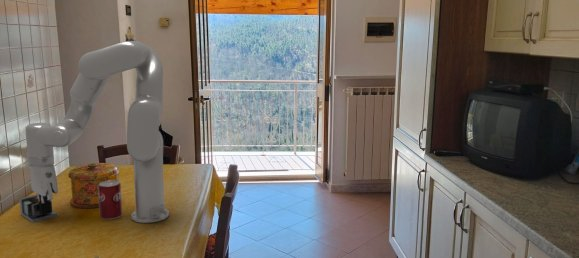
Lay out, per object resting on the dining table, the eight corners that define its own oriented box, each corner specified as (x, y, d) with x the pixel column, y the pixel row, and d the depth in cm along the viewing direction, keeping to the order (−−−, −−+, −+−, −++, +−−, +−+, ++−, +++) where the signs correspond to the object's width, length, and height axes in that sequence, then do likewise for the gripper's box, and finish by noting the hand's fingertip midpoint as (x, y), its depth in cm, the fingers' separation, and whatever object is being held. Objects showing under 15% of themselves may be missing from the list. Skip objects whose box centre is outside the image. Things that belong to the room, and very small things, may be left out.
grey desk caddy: (57, 215, 158) (56, 199, 156) (32, 222, 151) (31, 205, 150) (44, 208, 164) (43, 192, 163) (20, 215, 158) (19, 198, 157)
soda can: (98, 221, 154) (96, 187, 151) (101, 213, 160) (99, 180, 158) (121, 219, 155) (119, 185, 153) (123, 211, 162) (121, 179, 160)
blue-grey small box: (52, 211, 157) (51, 198, 156) (34, 216, 153) (32, 203, 152) (46, 208, 160) (45, 195, 160) (27, 213, 156) (26, 199, 155)
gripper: (63, 162, 148) (67, 215, 152) (43, 154, 157) (47, 205, 161) (39, 166, 142) (43, 222, 146) (19, 158, 152) (24, 210, 155)
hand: (45, 213), depth 153 cm, fingers closed
